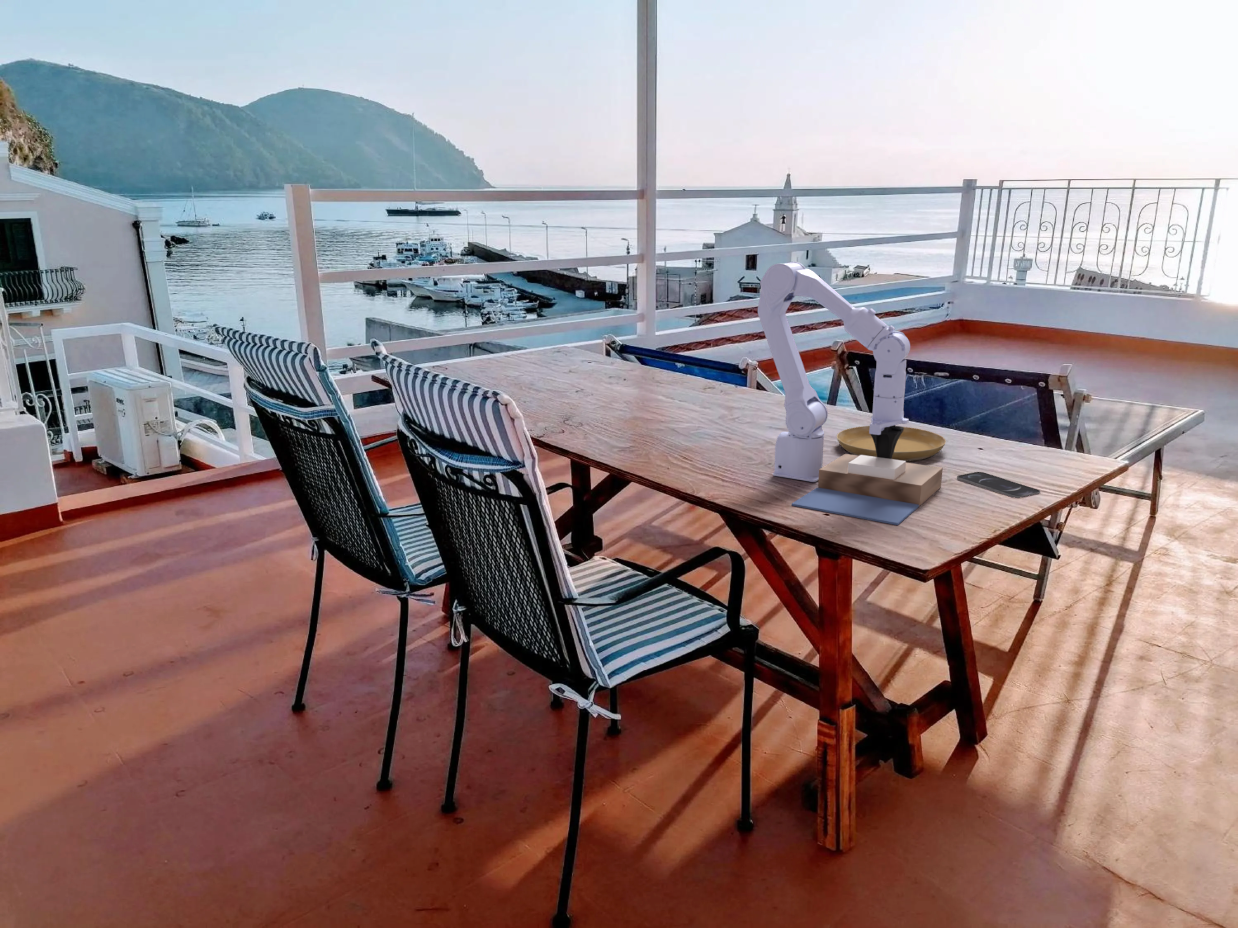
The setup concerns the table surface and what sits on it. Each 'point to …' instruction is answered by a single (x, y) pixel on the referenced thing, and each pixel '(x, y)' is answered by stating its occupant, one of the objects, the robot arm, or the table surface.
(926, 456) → the plant saucer
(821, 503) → the mat
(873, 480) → the stand
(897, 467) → the tile
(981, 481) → the smartphone
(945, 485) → the table surface
